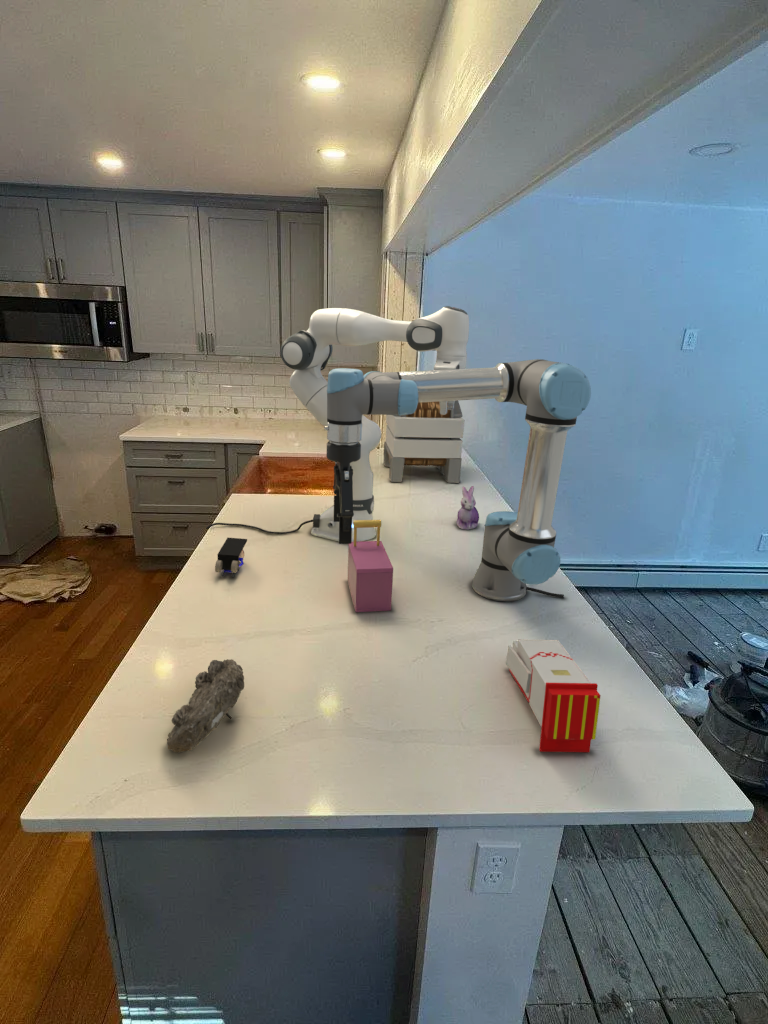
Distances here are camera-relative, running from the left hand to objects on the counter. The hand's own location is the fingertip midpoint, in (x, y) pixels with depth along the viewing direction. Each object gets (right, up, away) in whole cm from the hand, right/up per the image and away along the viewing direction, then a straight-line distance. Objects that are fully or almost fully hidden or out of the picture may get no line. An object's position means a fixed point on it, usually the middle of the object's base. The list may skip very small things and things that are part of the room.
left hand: (446, 411), depth 172 cm
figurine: (+12, -36, +38) cm, 53 cm away
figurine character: (-64, -48, -5) cm, 80 cm away
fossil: (-52, -70, -64) cm, 108 cm away
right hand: (-29, -35, -41) cm, 61 cm away
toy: (+13, -70, -57) cm, 91 cm away
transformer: (-2, -12, +102) cm, 103 cm away
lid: (-23, -43, -20) cm, 52 cm away
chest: (-23, -54, -16) cm, 61 cm away
